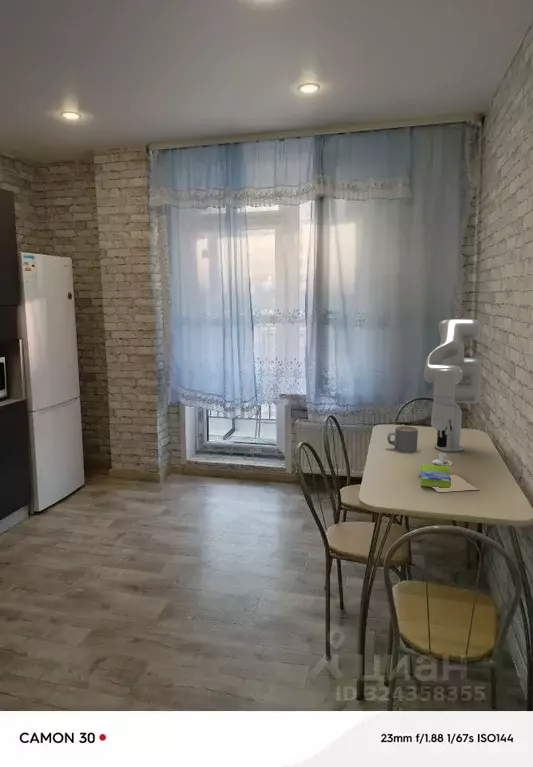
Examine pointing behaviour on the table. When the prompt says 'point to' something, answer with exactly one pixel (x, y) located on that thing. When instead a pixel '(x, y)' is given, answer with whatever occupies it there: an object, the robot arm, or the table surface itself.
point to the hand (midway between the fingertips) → (441, 446)
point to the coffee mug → (404, 439)
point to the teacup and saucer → (441, 459)
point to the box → (435, 476)
